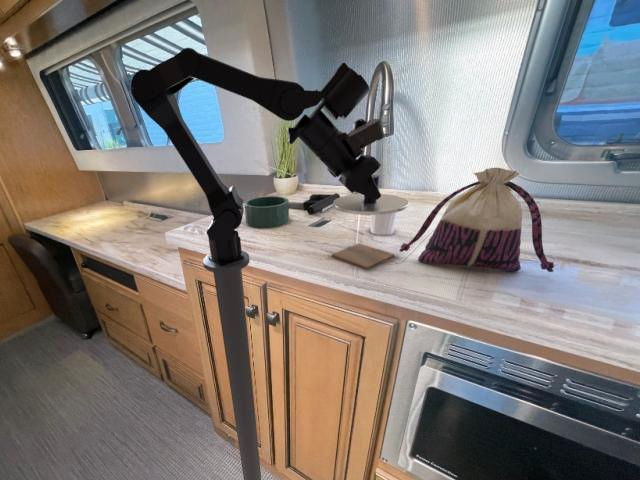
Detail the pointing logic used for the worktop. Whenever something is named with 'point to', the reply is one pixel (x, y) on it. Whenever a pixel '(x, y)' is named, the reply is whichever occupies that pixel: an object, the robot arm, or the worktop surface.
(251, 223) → the lunch tin
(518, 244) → the pouch
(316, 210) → the door handle
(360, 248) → the plate
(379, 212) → the tin lid
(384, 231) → the white cup
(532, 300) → the worktop surface
